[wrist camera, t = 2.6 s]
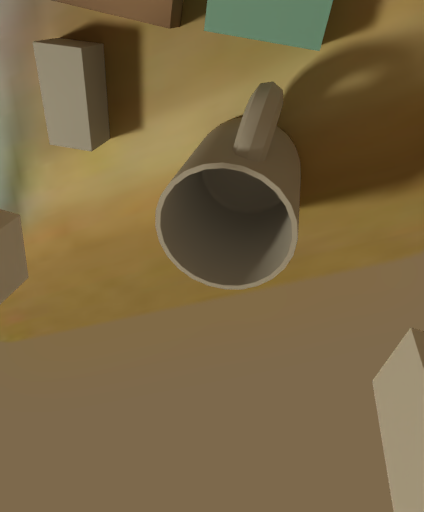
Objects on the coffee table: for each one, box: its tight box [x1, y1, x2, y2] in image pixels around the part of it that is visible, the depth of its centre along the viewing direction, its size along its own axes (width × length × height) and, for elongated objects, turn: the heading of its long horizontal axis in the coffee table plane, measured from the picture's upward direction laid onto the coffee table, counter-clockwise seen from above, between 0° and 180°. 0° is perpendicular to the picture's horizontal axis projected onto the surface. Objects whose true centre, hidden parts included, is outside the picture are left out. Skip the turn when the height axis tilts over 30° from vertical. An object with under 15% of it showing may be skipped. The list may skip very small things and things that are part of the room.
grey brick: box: [33, 38, 110, 151], centre depth 24 cm, size 6×3×3 cm, turn 175°
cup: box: [155, 82, 301, 289], centre depth 21 cm, size 7×10×9 cm
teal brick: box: [204, 0, 333, 51], centre depth 19 cm, size 6×3×3 cm, turn 82°
